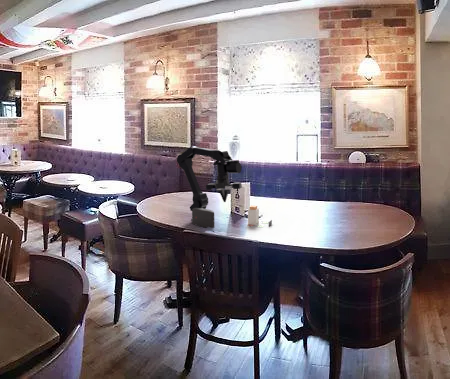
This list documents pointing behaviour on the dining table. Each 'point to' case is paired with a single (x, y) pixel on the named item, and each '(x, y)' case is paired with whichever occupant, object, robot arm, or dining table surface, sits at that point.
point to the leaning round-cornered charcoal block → (203, 217)
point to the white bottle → (253, 215)
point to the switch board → (263, 222)
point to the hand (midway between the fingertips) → (224, 202)
